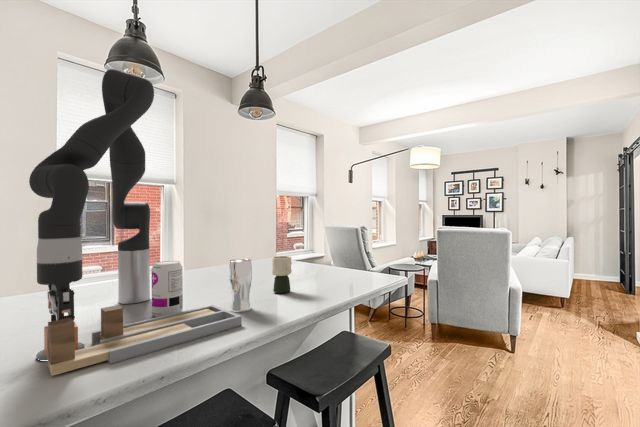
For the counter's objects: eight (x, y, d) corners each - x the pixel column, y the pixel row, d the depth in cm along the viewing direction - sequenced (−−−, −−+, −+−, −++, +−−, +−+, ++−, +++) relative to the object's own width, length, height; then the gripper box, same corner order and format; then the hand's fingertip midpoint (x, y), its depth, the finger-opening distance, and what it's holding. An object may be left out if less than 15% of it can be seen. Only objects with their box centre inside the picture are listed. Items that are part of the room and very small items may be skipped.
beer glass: (246, 313, 95) (246, 262, 95) (224, 312, 96) (224, 261, 96) (255, 306, 102) (255, 258, 102) (235, 305, 103) (234, 258, 103)
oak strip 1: (47, 365, 62) (47, 320, 62) (183, 329, 81) (183, 295, 81) (51, 375, 58) (51, 327, 58) (193, 335, 77) (193, 299, 77)
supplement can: (151, 320, 90) (151, 265, 89) (151, 312, 97) (151, 261, 97) (183, 315, 93) (183, 263, 93) (181, 308, 101) (181, 259, 101)
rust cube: (73, 343, 72) (73, 321, 72) (78, 350, 69) (77, 326, 69) (44, 350, 69) (44, 326, 69) (47, 357, 65) (47, 332, 65)
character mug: (298, 293, 118) (298, 257, 118) (281, 297, 113) (281, 259, 113) (282, 288, 126) (282, 254, 126) (266, 291, 122) (265, 256, 122)
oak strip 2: (100, 340, 74) (99, 307, 74) (207, 314, 93) (207, 287, 93) (106, 347, 70) (106, 312, 70) (217, 318, 89) (217, 290, 89)
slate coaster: (34, 353, 69) (34, 350, 69) (80, 342, 74) (80, 339, 74) (38, 365, 63) (38, 362, 63) (88, 352, 69) (88, 349, 69)
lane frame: (91, 342, 74) (91, 332, 74) (212, 313, 95) (212, 304, 95) (110, 364, 63) (109, 351, 63) (241, 325, 85) (241, 316, 85)
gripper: (89, 260, 66) (89, 339, 66) (75, 254, 76) (76, 323, 76) (41, 265, 61) (41, 351, 61) (33, 257, 71) (33, 331, 71)
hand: (60, 335), depth 69 cm, fingers open, 8 cm apart
